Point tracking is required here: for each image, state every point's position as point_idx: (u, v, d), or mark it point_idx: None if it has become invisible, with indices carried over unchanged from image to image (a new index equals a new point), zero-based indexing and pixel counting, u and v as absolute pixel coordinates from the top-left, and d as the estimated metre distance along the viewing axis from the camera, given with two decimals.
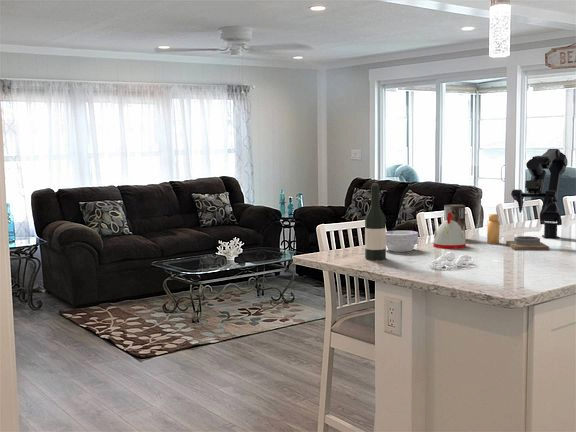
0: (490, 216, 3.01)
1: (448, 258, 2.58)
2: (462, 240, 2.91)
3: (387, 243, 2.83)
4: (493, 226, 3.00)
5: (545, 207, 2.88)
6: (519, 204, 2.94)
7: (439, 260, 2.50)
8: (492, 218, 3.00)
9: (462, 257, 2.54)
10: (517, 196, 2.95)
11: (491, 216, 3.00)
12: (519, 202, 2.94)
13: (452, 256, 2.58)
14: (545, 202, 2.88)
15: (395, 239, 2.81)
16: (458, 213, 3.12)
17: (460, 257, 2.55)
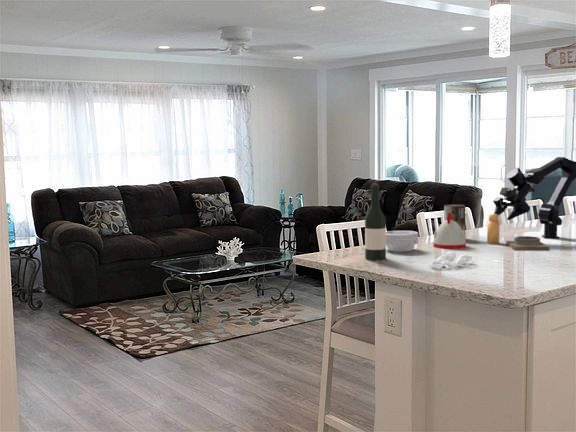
0: (490, 216, 3.01)
1: (449, 258, 2.58)
2: (462, 240, 2.91)
3: (387, 243, 2.83)
4: (493, 226, 3.00)
5: (513, 215, 2.99)
6: (495, 210, 3.08)
7: (439, 260, 2.50)
8: (492, 218, 3.00)
9: (462, 257, 2.54)
10: (496, 203, 3.10)
11: (491, 216, 3.00)
12: (496, 208, 3.09)
13: (453, 256, 2.58)
14: (513, 210, 2.99)
15: (395, 239, 2.81)
16: (458, 213, 3.12)
17: (460, 257, 2.55)
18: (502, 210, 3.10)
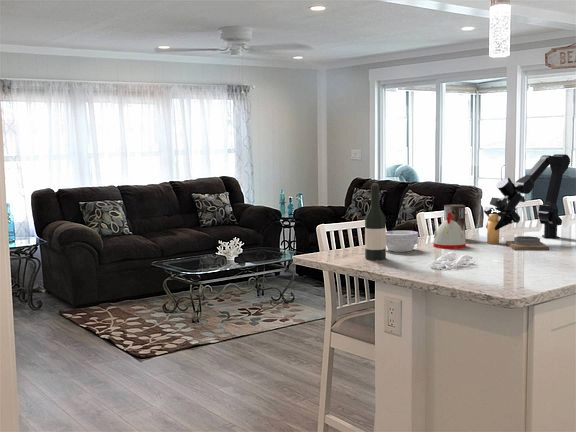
0: (490, 216, 3.01)
1: (449, 258, 2.58)
2: (462, 240, 2.91)
3: (387, 243, 2.83)
4: (493, 226, 3.00)
5: (500, 224, 2.99)
6: None
7: (440, 260, 2.50)
8: (492, 218, 3.00)
9: (463, 257, 2.54)
10: (489, 213, 3.06)
11: (491, 216, 3.00)
12: None
13: (453, 256, 2.58)
14: (501, 220, 2.99)
15: (395, 239, 2.81)
16: (458, 213, 3.12)
17: (461, 257, 2.55)
18: None
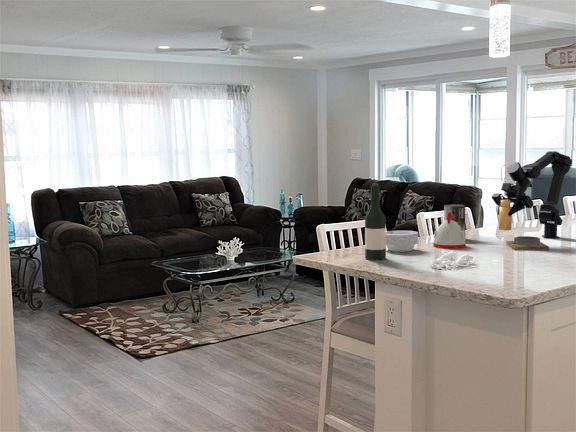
0: (503, 202, 2.94)
1: (450, 258, 2.58)
2: (462, 240, 2.91)
3: (387, 243, 2.83)
4: (507, 212, 2.93)
5: (514, 210, 2.93)
6: None
7: (440, 260, 2.51)
8: (505, 204, 2.94)
9: (463, 256, 2.55)
10: (499, 199, 3.00)
11: (504, 202, 2.94)
12: (499, 205, 2.99)
13: (454, 256, 2.58)
14: (514, 205, 2.93)
15: (395, 239, 2.81)
16: (458, 213, 3.12)
17: (462, 257, 2.55)
18: None
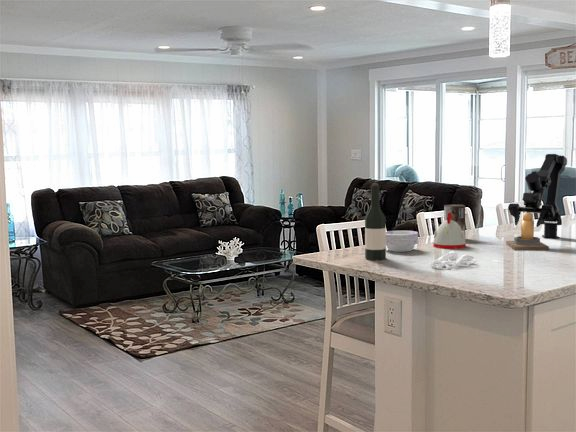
0: (526, 215, 2.87)
1: (451, 258, 2.59)
2: (462, 240, 2.91)
3: (387, 243, 2.83)
4: (531, 225, 2.87)
5: (541, 221, 2.86)
6: (515, 217, 2.92)
7: (440, 260, 2.51)
8: (529, 217, 2.87)
9: (464, 256, 2.55)
10: (514, 209, 2.93)
11: (528, 215, 2.87)
12: (515, 215, 2.93)
13: (455, 256, 2.58)
14: (541, 216, 2.86)
15: (395, 239, 2.81)
16: (458, 213, 3.12)
17: (462, 257, 2.55)
18: (519, 216, 2.95)
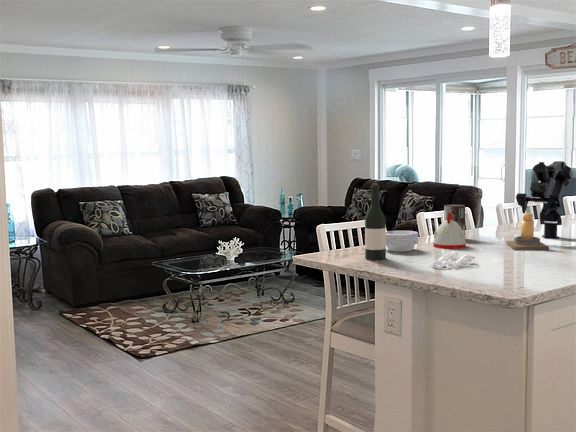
0: (526, 216, 2.87)
1: (451, 258, 2.59)
2: (462, 240, 2.91)
3: (387, 243, 2.83)
4: (531, 225, 2.87)
5: (548, 210, 2.93)
6: (523, 206, 2.99)
7: (441, 260, 2.51)
8: (528, 218, 2.87)
9: (465, 256, 2.55)
10: (521, 199, 3.00)
11: (527, 215, 2.87)
12: (523, 204, 3.00)
13: (455, 256, 2.58)
14: (548, 205, 2.93)
15: (395, 239, 2.81)
16: (458, 213, 3.12)
17: (463, 257, 2.55)
18: (526, 206, 3.02)
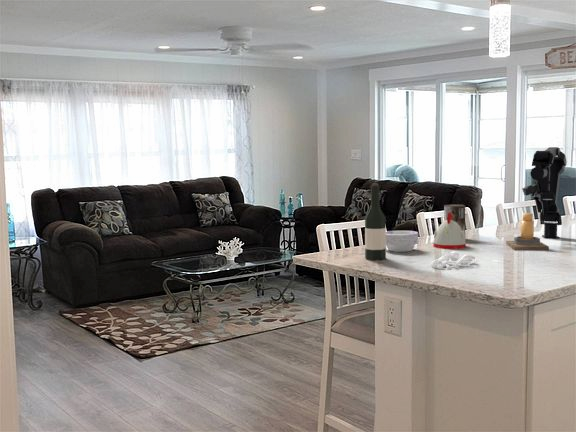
0: (526, 216, 2.87)
1: (452, 258, 2.59)
2: (462, 240, 2.91)
3: (387, 243, 2.83)
4: (531, 225, 2.87)
5: (545, 208, 2.95)
6: (536, 205, 3.06)
7: (441, 259, 2.51)
8: (528, 217, 2.87)
9: (465, 256, 2.55)
10: None
11: (527, 215, 2.87)
12: (536, 203, 3.06)
13: (456, 256, 2.58)
14: (542, 204, 2.95)
15: (395, 239, 2.81)
16: (458, 213, 3.12)
17: (463, 257, 2.55)
18: None
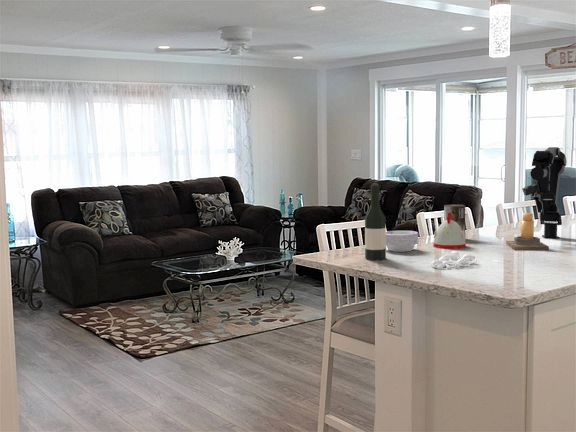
0: (526, 216, 2.87)
1: (452, 258, 2.59)
2: (462, 240, 2.91)
3: (387, 243, 2.83)
4: (531, 225, 2.87)
5: (545, 208, 2.95)
6: (536, 205, 3.06)
7: (441, 259, 2.51)
8: (528, 217, 2.87)
9: (465, 256, 2.55)
10: None
11: (527, 215, 2.87)
12: (536, 203, 3.06)
13: (456, 256, 2.58)
14: (542, 204, 2.95)
15: (395, 239, 2.81)
16: (458, 213, 3.12)
17: (464, 257, 2.55)
18: None
